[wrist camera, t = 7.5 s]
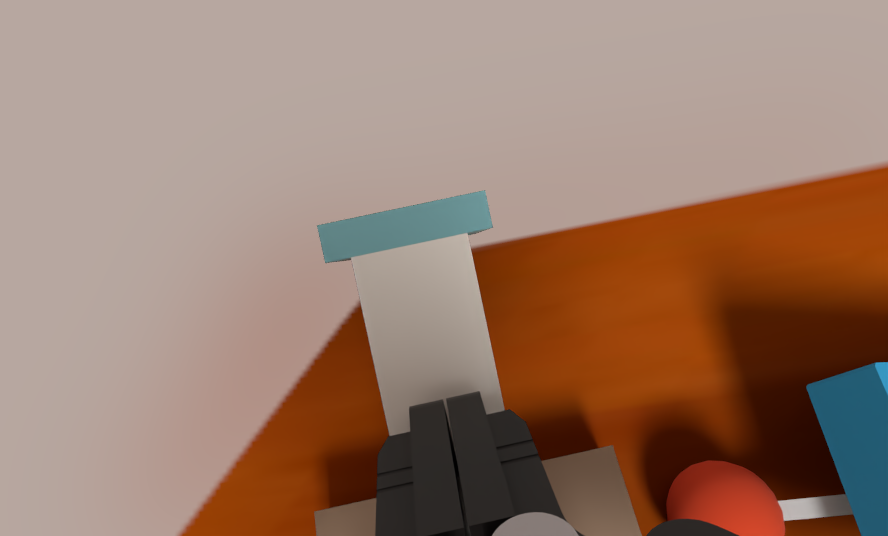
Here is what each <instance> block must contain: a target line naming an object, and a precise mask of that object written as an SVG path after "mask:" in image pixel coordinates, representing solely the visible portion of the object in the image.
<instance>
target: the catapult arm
mask: <svg viewBox="0 0 888 536" xmlns="http://www.w3.org/2000/svg"><path fill="white" fill-rule="evenodd" d="M317 227H318V232H319V237H320V241H321V245H322V250H323V255H324V259H325V263H329V262H337V261H346V260H352V266H353V270H354V275H355V279H356V284H357V288H358V293H359V298H360V302H361V307H362V312H363V316H364V321H365V325H366V330H367V334H368V339H369V344H370V348H371V353H372V357H373V362H374V367H375V371H376V376H377V380H378V385H379V390H380V394H381V399H382V403H383V408H384V413H385V417H386V422H387V426H388V431H389V435H390V436H392V435H397V434H401V433H406V432H410V418H409V406H414V405H419V404H423V403H428V402H432V401H437V400H441V399H443V401H444V405H445V410H446V414H447V419H448V423H449V428H450V432H451V437H452V441H453V435H452V430H451V424H450V419H449V413H448V407H447V402H446V398H450V397H454V396H459V395H464V394H468V393H473V392H477V391H480V394H481V398H482V401H483V404H484V408H485V411H486V415H487V414H491V413H496V412H500V411H505V409H504V404H503V400H502V395H501V390H500V385H499V381H498V376H497V371H496V366H495V361H494V357H493V352H492V347H491V342H490V338H489V333H488V328H487V323H486V319H485V314H484V309H483V304H482V299H481V295H480V290H479V285H478V280H477V276H476V271H475V266H474V261H473V257H472V252H471V247H470V243H469V238H468V235H471V234H476V233H479V232H481V231H484V230H487V229H490V228H492V227H493V226H492V222H491V217H490V212H489V207H488V203H487V197H486V193H485V190H484V191H479V192H475V193H470V194H465V195H460V196H456V197H451V198H446V199H441V200H436V201H432V202H427V203H422V204H417V205H413V206H408V207H403V208H398V209H394V210H389V211H384V212H379V213H374V214H370V215H365V216H360V217H356V218H350V219H346V220H341V221H336V222H331V223H327V224H322V225H318V226H317ZM453 446H454V441H453ZM454 450H455V447H454ZM455 455H456V452H455ZM456 459H457V458H456Z"/></svg>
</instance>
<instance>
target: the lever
mask: <svg viewBox="0 0 888 536" xmlns="http://www.w3.org/2000/svg"><path fill="white" fill-rule="evenodd" d="M806 388H807V391H808V394H809V396H810V399H811V402H812V404H813V407H814V410H815V412H816V415H817V418H818V420H819V423H820V426H821V428H822V431H823V434H824V437H825V439H826V442H827V445H828V447H829V450H830V453H831V455H832V458H833V461H834V463H835V466H836V469H837V471H838V474H839V477H840V479H841V482H842V485H843V487H844V490H845V493H846V494H842V495H832V496H822V497H812V498H802V499H792V500H782V501H777V499H776V497H775V495H774V493H773V492H772V491H771V489H770V488H769V487H768V486H767V485H766V483H765V482H764V481H763V480H762V479H761V478H759V477H758V476H757V475H756V474H754V473H753V472H752V471H750V470H748V469H746V468H744V467H742V466H739V465H736V464H732V463H729V462H726V461H709V460H707V461H704V462H700V463H697V464H693V465H691V466H689V467H688V468H686V469H685V470H683V471H682V472H680V474H679V475H678V476H677V477H676V478H675V480H674V481H673V483H672V485H671V487H670V489H669V493H668V497H667V502H666V507H667V519H668V521H670V520H675V519H695V520H701V521H705V522H709V523H711V524H714V525H717V526H719V527H721V528H723V529H726V530H728V531H730V532H732V533H735V534H737V535H739V536H784V535H785V524H784V521H788V520H798V519H809V518H820V517H830V516H841V515H851V514H854V517H855V520H856V522H857V525H858V528H859V530H860V533H861V536H888V362H877V363H873V364H870V365H867V366H864V367H860V368H857V369H854V370H851V371H848V372H845V373H842V374H839V375H836V376H833V377H830V378H826V379H823V380H820V381H817V382H814V383H811V384H808V385H807V387H806Z"/></svg>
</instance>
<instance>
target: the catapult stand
mask: <svg viewBox="0 0 888 536" xmlns="http://www.w3.org/2000/svg"><path fill="white" fill-rule="evenodd" d="M541 462H542V464H543V467H544V469H545V472H546V474H547V477H548V479H549V482H550V484H551V487H552V489H553V492H554V494H555V496H556V499H557V501H558V504H559V506H560V509H561V511H562V514H563V516H564V517H565V519H566V520H567V522H568V523H569V524H570V525H571V526H572V527H573V528H574V529H575V530H577V531H578V532H579V533H581V534H583V535H585V536H642V535H641V532H640V529H639V526H638V523H637V519H636V516H635V513H634V510H633V507H632V504H631V501H630V498H629V495H628V492H627V489H626V486H625V482H624V479H623V476H622V473H621V470H620V467H619V464H618V461H617V458H616V455H615V452H614V448H613V445H611V446H607V447H602V448H598V449H593V450H589V451H584V452H580V453H575V454H571V455H567V456H562V457H558V458H553V459H549V460H544V461H541ZM314 513H315V524H316V535H317V536H375V525H376V498H373V499H369V500H364V501H360V502H355V503H351V504H346V505H342V506H338V507H333V508H329V509H324V510H320V511H315V512H314Z"/></svg>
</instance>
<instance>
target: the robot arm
mask: <svg viewBox="0 0 888 536" xmlns="http://www.w3.org/2000/svg"><path fill="white" fill-rule="evenodd" d="M446 402H447V407H448V413H449V419H450V424H451V430H452V435H453V441H454V446H453V441H452V437H451V432H450V428H449V423H448V419H447V414H446V410H445V405H444V401H443V399H441V400H437V401H432V402H428V403H423V404H419V405H414V406H409V418H410V432H406V433H401V434H397V435H392V436H388V438H387V440H386V441H385V443H384V445H383V447H382V448H381V450H380V452H379V454H378V464H377V475H378V478H377V495H376V525H375V536H585V535H583V534H581V533H579V532H578V531H577V530H575V529H574V528H573V527H572V526H571V525H570V524H569V523H568V522H567V520H566V519H565V517H564V516H563V514H562V511H561V509H560V506H559V504H558V501H557V499H556V496H555V494H554V492H553V489H552V487H551V484H550V482H549V479H548V477H547V474H546V472H545V469H544V467H543V464H542V462H541V459H540V457H539V455H538V452H537V449H536V447H535V444H534V443H533V439H532V437H531V434H530V432H529V429H528V427H527V424H526V422H525V421H524V420H523V419H521V418H520V417H519V416H517V415H516V414H515V413H514V412H512V411H511V410H510V409H509V410H505V411H500V412H496V413H491V414H487V415H486V411H485V408H484V404H483V401H482V398H481V394H480V391H477V392H473V393H468V394H464V395H459V396H454V397H450V398H446ZM454 447H455V450H454ZM455 452H456V455H455ZM456 458H457V459H456ZM647 536H739V535H737V534H735V533H732V532H730V531H728V530H726V529H723V528H721V527H719V526H717V525H714V524H711V523H709V522H705V521H701V520H695V519H675V520H670V521H666V522H664V523H661V524H659V525H657V526H656V527H655V528H653V529H652V530H651V531H650V532H649V533H648V534H647Z"/></svg>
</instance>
